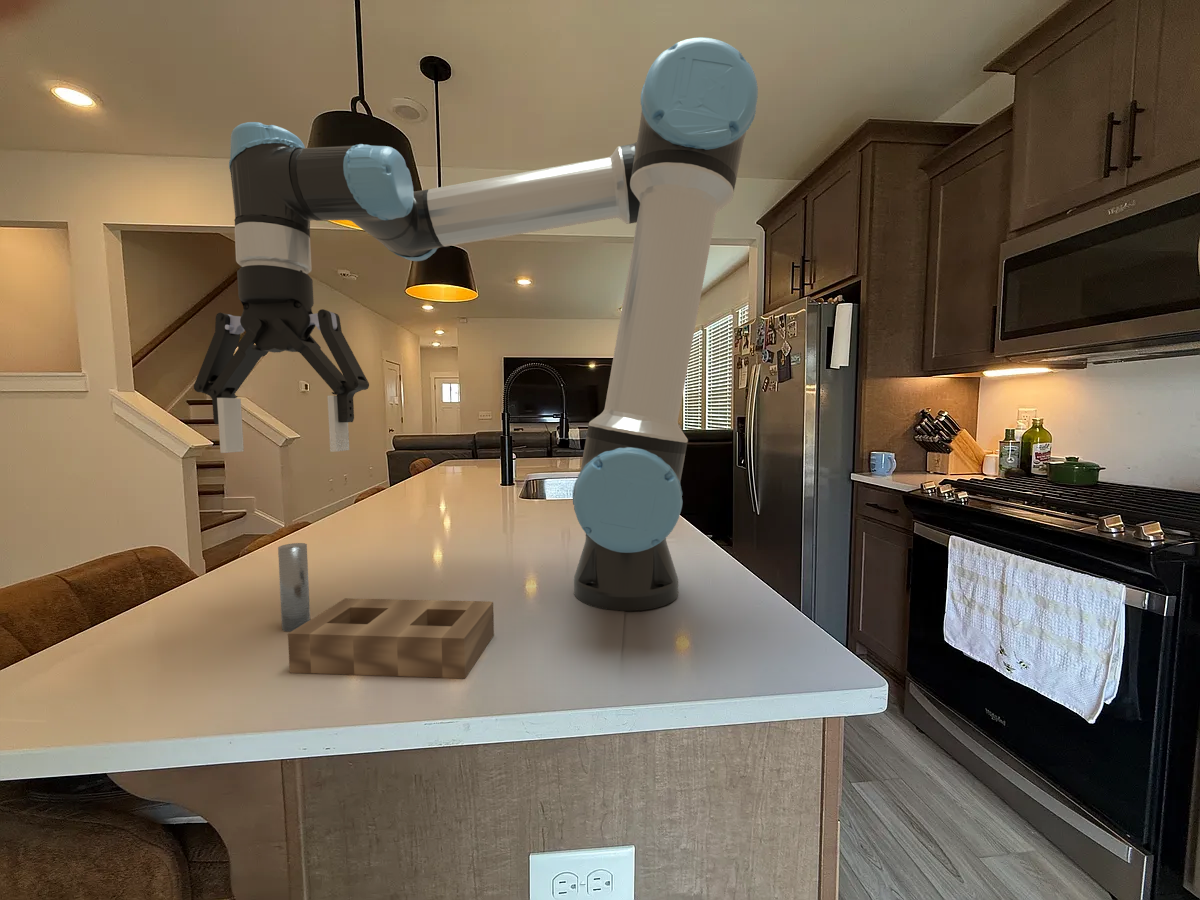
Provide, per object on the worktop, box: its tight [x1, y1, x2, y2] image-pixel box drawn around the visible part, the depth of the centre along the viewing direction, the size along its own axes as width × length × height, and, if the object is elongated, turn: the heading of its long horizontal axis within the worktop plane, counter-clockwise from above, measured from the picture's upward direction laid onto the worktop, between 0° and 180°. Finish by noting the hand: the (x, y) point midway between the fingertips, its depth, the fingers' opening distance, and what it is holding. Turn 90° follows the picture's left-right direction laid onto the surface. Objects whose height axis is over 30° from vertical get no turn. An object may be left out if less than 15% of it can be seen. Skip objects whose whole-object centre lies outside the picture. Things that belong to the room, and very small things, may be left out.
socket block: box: [287, 598, 495, 679], centre depth 56 cm, size 18×10×4 cm, turn 86°
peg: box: [277, 542, 311, 632], centre depth 63 cm, size 3×3×10 cm
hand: (285, 451), depth 62 cm, fingers open, 13 cm apart
